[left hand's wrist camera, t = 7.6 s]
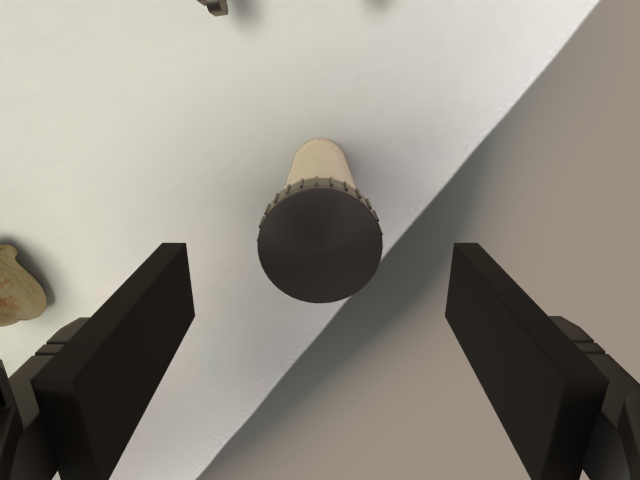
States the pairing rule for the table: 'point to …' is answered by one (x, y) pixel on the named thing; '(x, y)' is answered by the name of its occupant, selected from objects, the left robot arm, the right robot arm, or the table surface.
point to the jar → (320, 163)
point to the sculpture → (18, 290)
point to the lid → (320, 240)
